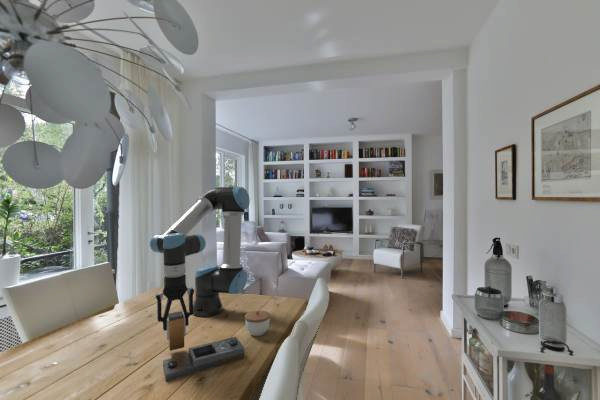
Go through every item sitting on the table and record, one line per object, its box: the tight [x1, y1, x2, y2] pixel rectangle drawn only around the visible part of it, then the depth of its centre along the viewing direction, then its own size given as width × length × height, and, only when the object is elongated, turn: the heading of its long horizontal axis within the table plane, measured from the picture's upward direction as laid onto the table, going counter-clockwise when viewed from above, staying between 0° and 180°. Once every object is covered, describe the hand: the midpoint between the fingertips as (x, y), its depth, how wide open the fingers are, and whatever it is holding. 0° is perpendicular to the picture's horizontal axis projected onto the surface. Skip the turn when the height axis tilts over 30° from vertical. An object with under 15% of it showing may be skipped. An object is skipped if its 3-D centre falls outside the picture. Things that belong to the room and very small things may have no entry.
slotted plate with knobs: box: [162, 336, 245, 382], centre depth 105 cm, size 10×26×5 cm, turn 120°
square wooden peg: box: [167, 310, 185, 352], centre depth 111 cm, size 5×5×12 cm
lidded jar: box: [244, 310, 271, 337], centre depth 127 cm, size 11×11×9 cm
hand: (176, 336), depth 111 cm, fingers closed on square wooden peg, 5 cm apart
